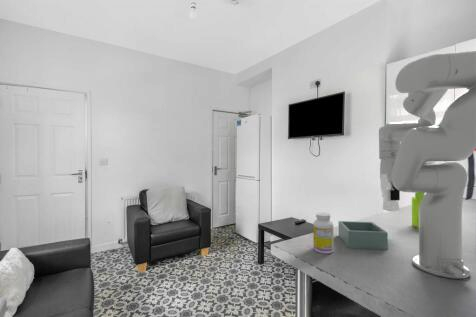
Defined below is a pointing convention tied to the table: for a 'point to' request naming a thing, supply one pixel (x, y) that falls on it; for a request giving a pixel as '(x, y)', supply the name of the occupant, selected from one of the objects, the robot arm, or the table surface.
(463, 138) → the robot arm
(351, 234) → the box
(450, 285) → the table surface
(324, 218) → the supplement bottle
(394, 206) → the beer glass
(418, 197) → the soap dispenser
